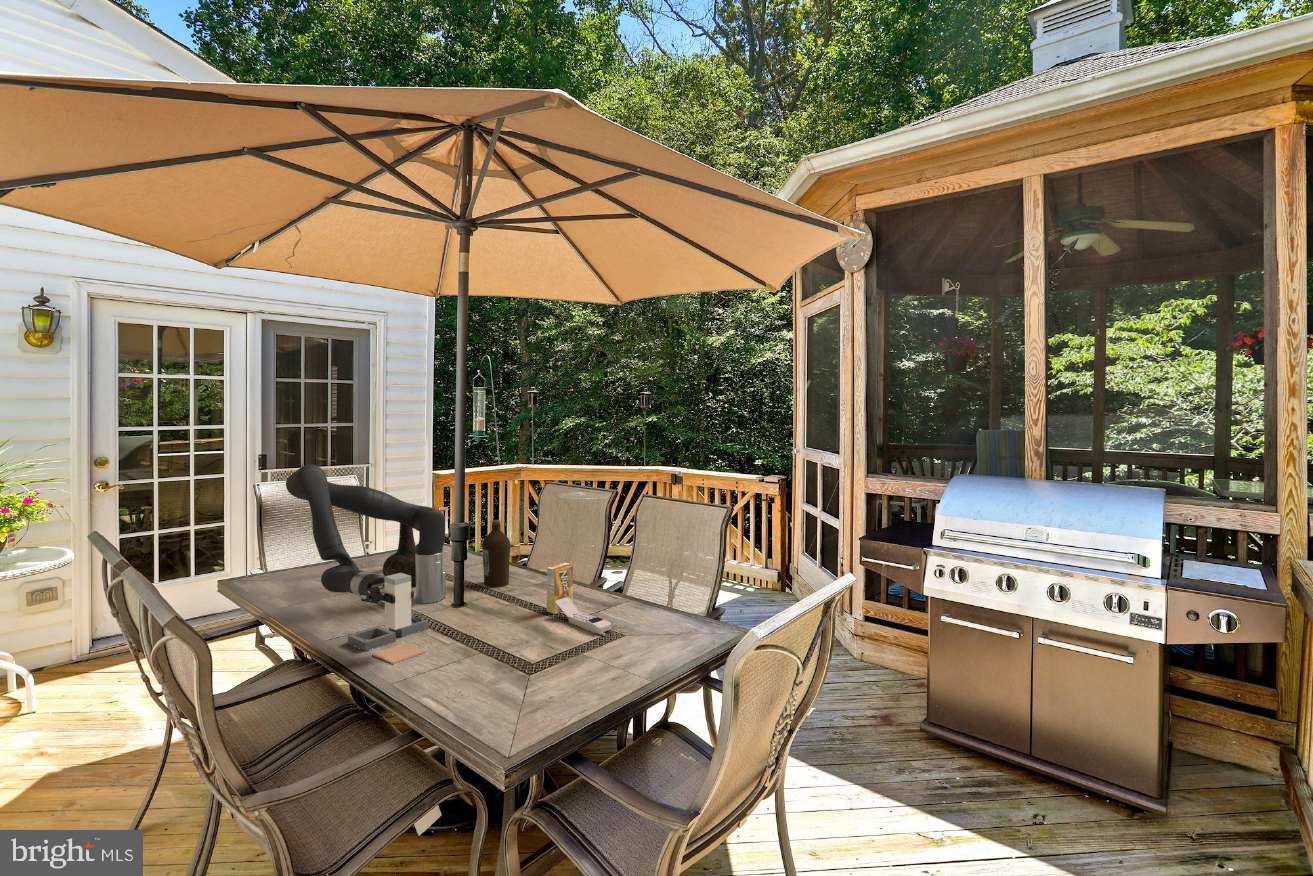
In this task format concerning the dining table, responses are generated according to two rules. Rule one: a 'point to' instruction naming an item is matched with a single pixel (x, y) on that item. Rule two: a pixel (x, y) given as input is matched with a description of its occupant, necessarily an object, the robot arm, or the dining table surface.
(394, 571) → the dark brown vase
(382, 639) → the charging dock
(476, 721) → the dining table surface
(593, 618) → the mobile phone
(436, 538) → the robot arm
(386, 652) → the coaster
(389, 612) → the block
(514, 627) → the dining table surface
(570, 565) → the candy box
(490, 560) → the olive oil
